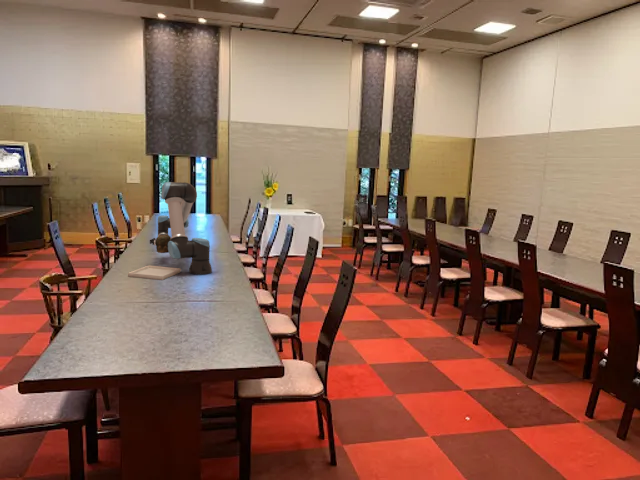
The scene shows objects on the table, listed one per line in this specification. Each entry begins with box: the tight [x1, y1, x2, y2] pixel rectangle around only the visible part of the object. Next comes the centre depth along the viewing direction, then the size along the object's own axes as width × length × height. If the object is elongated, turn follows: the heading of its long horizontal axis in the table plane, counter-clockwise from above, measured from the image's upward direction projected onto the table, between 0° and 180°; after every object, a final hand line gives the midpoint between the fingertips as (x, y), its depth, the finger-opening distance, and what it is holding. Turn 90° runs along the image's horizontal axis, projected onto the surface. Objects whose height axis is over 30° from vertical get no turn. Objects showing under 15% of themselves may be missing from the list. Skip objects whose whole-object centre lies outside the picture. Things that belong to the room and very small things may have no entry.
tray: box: [127, 265, 182, 281], centre depth 310 cm, size 24×24×2 cm
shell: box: [155, 234, 172, 254], centre depth 328 cm, size 11×11×12 cm
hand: (163, 243), depth 325 cm, fingers closed on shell, 11 cm apart
